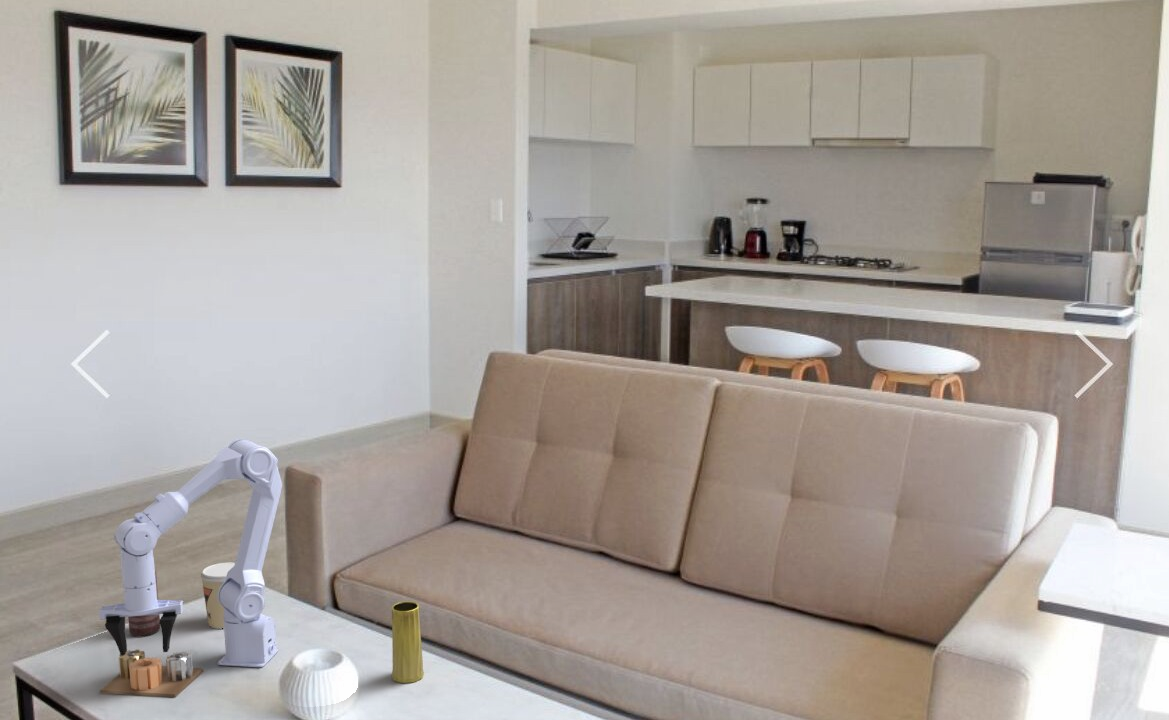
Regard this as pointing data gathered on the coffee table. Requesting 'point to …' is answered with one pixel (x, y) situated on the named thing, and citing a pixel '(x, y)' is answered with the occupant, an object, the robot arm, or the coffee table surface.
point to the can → (144, 622)
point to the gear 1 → (129, 662)
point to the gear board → (163, 690)
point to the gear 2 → (179, 666)
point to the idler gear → (145, 673)
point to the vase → (406, 643)
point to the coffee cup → (214, 592)
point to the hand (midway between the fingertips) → (145, 651)
